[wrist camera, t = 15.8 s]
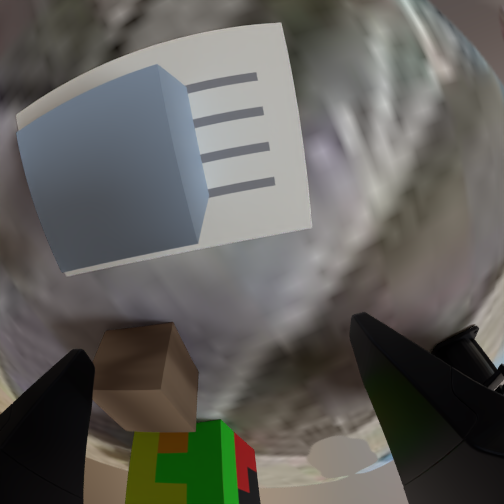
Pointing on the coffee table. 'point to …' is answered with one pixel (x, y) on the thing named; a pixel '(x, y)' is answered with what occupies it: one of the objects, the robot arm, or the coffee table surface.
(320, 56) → the coffee table surface
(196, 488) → the puzzle toy
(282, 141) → the letter
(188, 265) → the coffee table surface
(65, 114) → the blue cube
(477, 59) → the coffee table surface
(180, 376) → the walnut block
